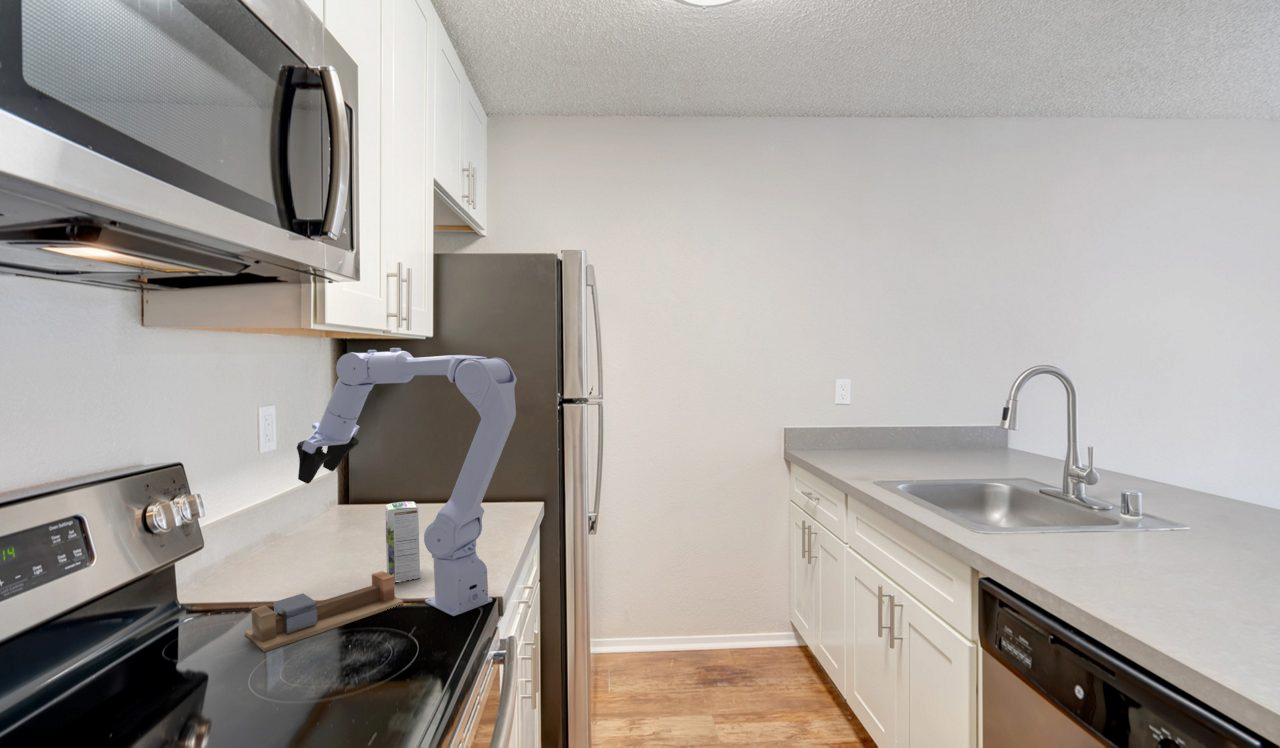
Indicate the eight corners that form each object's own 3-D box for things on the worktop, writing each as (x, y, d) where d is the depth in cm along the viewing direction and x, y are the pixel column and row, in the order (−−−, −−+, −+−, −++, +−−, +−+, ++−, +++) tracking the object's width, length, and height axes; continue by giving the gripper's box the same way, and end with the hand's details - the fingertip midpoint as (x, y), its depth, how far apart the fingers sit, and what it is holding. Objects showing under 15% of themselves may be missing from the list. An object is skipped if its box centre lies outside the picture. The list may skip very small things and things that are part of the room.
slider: (317, 623, 100) (316, 601, 100) (287, 633, 96) (286, 611, 96) (304, 614, 104) (303, 593, 103) (274, 623, 100) (273, 602, 100)
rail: (403, 604, 109) (402, 578, 109) (264, 652, 93) (263, 621, 92) (379, 591, 115) (378, 567, 115) (245, 634, 99) (243, 606, 98)
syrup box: (386, 575, 123) (383, 503, 123) (417, 569, 126) (414, 499, 126) (389, 584, 118) (386, 510, 118) (421, 578, 121) (418, 506, 120)
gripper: (345, 395, 121) (320, 454, 123) (298, 409, 107) (271, 476, 109) (377, 411, 121) (352, 470, 123) (334, 428, 107) (307, 494, 109)
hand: (316, 474), depth 116 cm, fingers open, 7 cm apart
